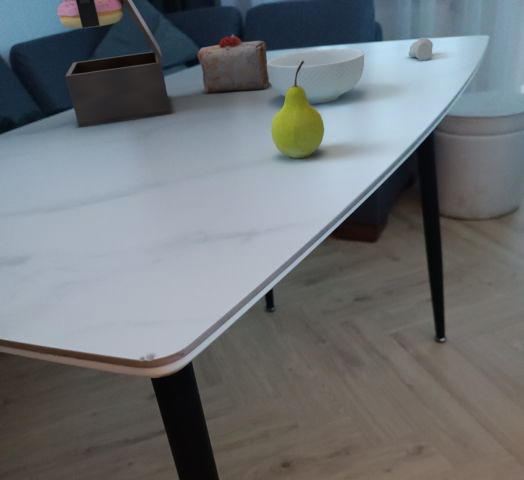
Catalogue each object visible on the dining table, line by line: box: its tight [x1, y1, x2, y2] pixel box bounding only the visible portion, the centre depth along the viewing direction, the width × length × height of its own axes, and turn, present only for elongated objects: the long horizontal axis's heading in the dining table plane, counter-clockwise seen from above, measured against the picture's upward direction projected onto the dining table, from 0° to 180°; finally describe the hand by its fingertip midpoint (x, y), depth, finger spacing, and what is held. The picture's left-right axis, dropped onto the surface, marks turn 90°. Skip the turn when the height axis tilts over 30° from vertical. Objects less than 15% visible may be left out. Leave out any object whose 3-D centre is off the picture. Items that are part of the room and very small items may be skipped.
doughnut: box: [56, 0, 125, 29], centre depth 99 cm, size 11×11×4 cm
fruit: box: [270, 61, 325, 159], centre depth 77 cm, size 7×7×12 cm
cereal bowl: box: [267, 48, 365, 105], centre depth 105 cm, size 17×17×7 cm
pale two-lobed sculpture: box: [408, 37, 434, 62], centre depth 127 cm, size 4×8×5 cm
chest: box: [65, 51, 172, 128], centre depth 112 cm, size 17×16×9 cm
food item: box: [197, 33, 270, 94], centre depth 118 cm, size 14×8×10 cm, turn 81°
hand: (93, 23), depth 100 cm, fingers closed on doughnut, 11 cm apart
